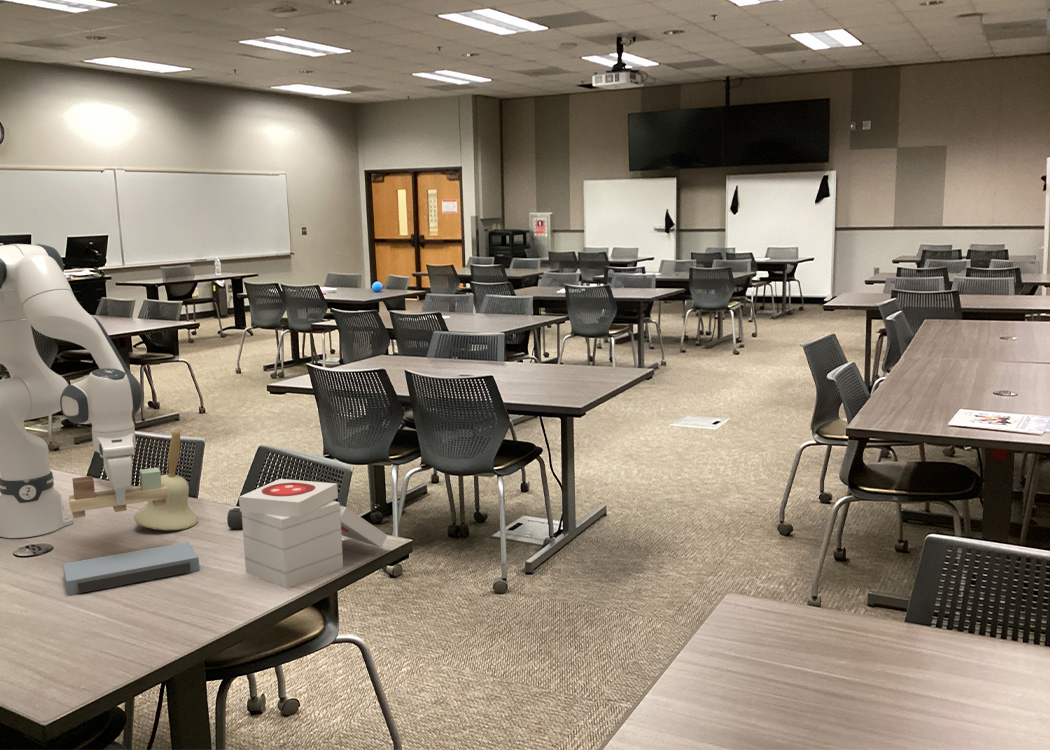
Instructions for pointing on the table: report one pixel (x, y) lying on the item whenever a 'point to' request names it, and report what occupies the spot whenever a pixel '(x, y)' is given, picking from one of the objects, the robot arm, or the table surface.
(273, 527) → the pizza boxes
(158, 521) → the handbell
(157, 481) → the block
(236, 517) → the flashlight
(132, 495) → the pallet
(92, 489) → the block
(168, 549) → the dock
